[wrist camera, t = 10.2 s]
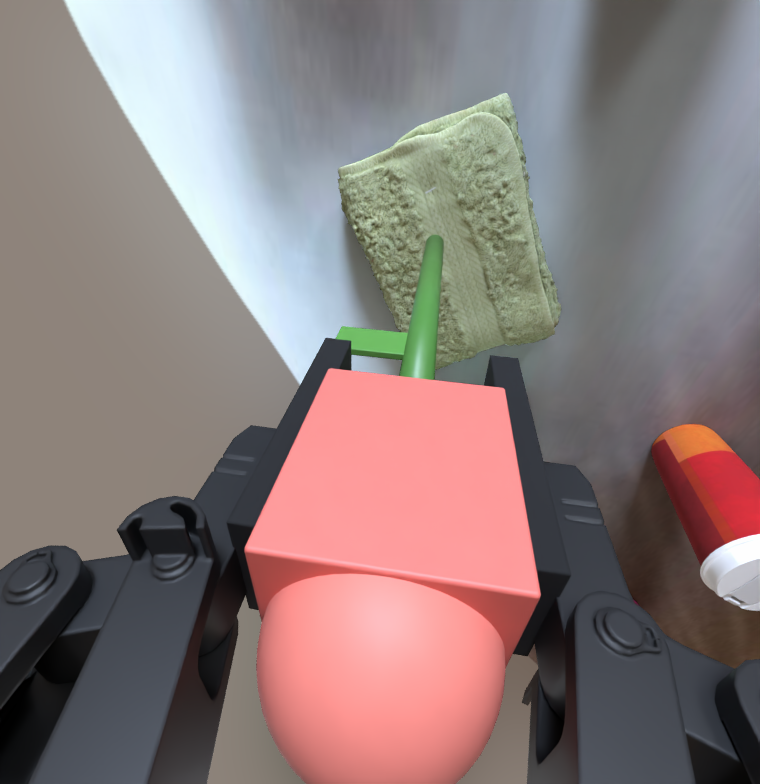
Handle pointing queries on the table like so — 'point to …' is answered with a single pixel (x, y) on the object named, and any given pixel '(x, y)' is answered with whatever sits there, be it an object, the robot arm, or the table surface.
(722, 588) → the paper cup
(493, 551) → the tulip
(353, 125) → the table surface
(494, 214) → the washcloth
